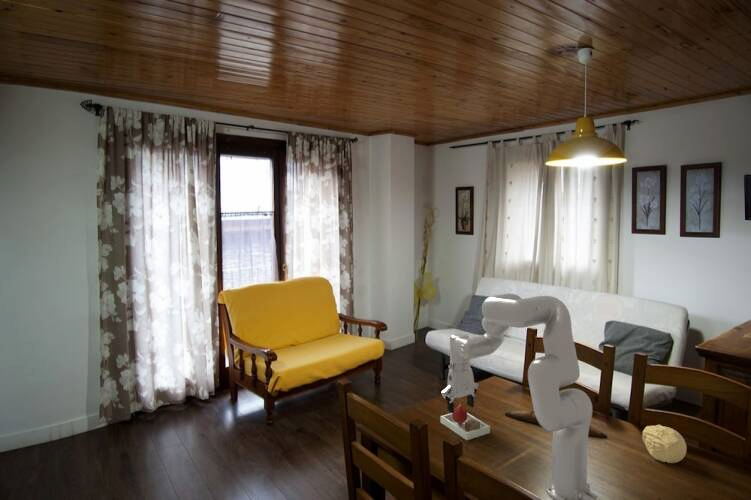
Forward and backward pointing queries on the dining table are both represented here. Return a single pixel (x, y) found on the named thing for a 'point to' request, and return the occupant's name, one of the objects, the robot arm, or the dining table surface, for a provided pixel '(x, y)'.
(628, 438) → the dining table surface
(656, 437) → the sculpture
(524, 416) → the bread
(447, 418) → the tray
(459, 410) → the onion
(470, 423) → the walnut block
